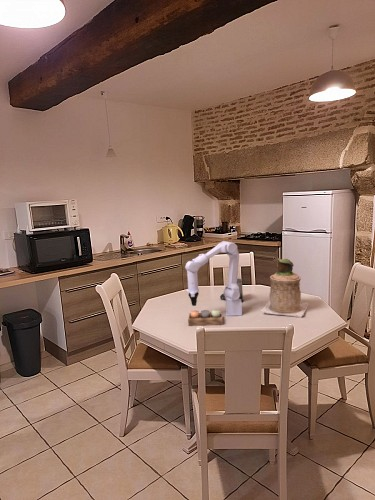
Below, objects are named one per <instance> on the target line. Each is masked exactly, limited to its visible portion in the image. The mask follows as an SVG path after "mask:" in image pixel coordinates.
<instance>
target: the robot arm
mask: <svg viewBox="0 0 375 500" xmlns="http://www.w3.org/2000/svg"><path fill="white" fill-rule="evenodd" d="M219 253H225V254H226V255H227V256H228V257H229V261H228V263H229V264H228V273H227V274H228V275H227V276H228V277H227V283H226V284H225V286H224V288H223V293H222V294H224V296H225V298H226V300H225V308H226V309H225V316H232V317H233V316H243V305H242V304H243V302H241V299H239V297H240V292H239V287H238V285H237V278H238V273H239V262H240V252H239V249H238V245H237V244H236V243H235V242H230V241H227V240H222V241H220V242H219V243H218V244H217V245H216V246H214V247H213V248H212V249H210V250H208V251H207V252H206V253H200V254H198V256H196V257H195V258H192V260H188V261H187V262H186V263H185V266H184V269H185V270H186V275H187V289H186V291H185V292H187V293H188V297H189V299H190V303H191V305H192V306H193V307H196V306H197V302H198V300H197V299H198V297H199V290H200V289H199V279H198V277H199V276H198V271H199V269H200V268H201V267H203V266H204V265H206V264H207V263H209V259H212V258H213V257H215V256H216V255H218V254H219Z"/></svg>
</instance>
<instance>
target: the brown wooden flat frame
mask: <svg viewBox="0 0 375 500" xmlns="http://www.w3.org/2000/svg"><path fill="white" fill-rule="evenodd" d="M187 324H188V327H201V326H202V327H203V326H206V327H207V326H223V324H224V323H223V312H222V311H220V317H214V318H212V311H209V318H201V312H199V318H191V312H189V314H188V320H187Z"/></svg>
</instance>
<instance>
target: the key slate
mask: <svg viewBox="0 0 375 500" xmlns="http://www.w3.org/2000/svg"><path fill="white" fill-rule="evenodd" d="M209 312H210V311H209V310H208V309H204V310H201V311H200V313H201V318H209Z"/></svg>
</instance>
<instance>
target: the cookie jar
mask: <svg viewBox="0 0 375 500" xmlns="http://www.w3.org/2000/svg"><path fill="white" fill-rule="evenodd" d="M277 261H278V262H277V268H276V269H277V271H276V272H275V273H274V274H271V275H270V276H269V280H270V288H269V289H270V290H269V300H268V301H267V302H266V304H265V305H264V307H263V308H262V309H261V310H260V312H261V313H262V315H264V314H268V315H278V316H288V317H293V318H294V317H295V318H302V317H304V316H305V312H306V311H307V310H308V309H307V308H308V306H309V305H308V302H306V301H305V302H304V301H302V300H301V298H302V297H301V295H302V294H301V293H302V292H301V289H300V288H301V287H300V284H301V283H300V282H301V279H302V278H301V276H299V275H298V274H297V273H295V272H293V267H294V264H293V262H292V261H291V260H290V259H288V258H284V259H283V258H282V259H281V258H277Z"/></svg>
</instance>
